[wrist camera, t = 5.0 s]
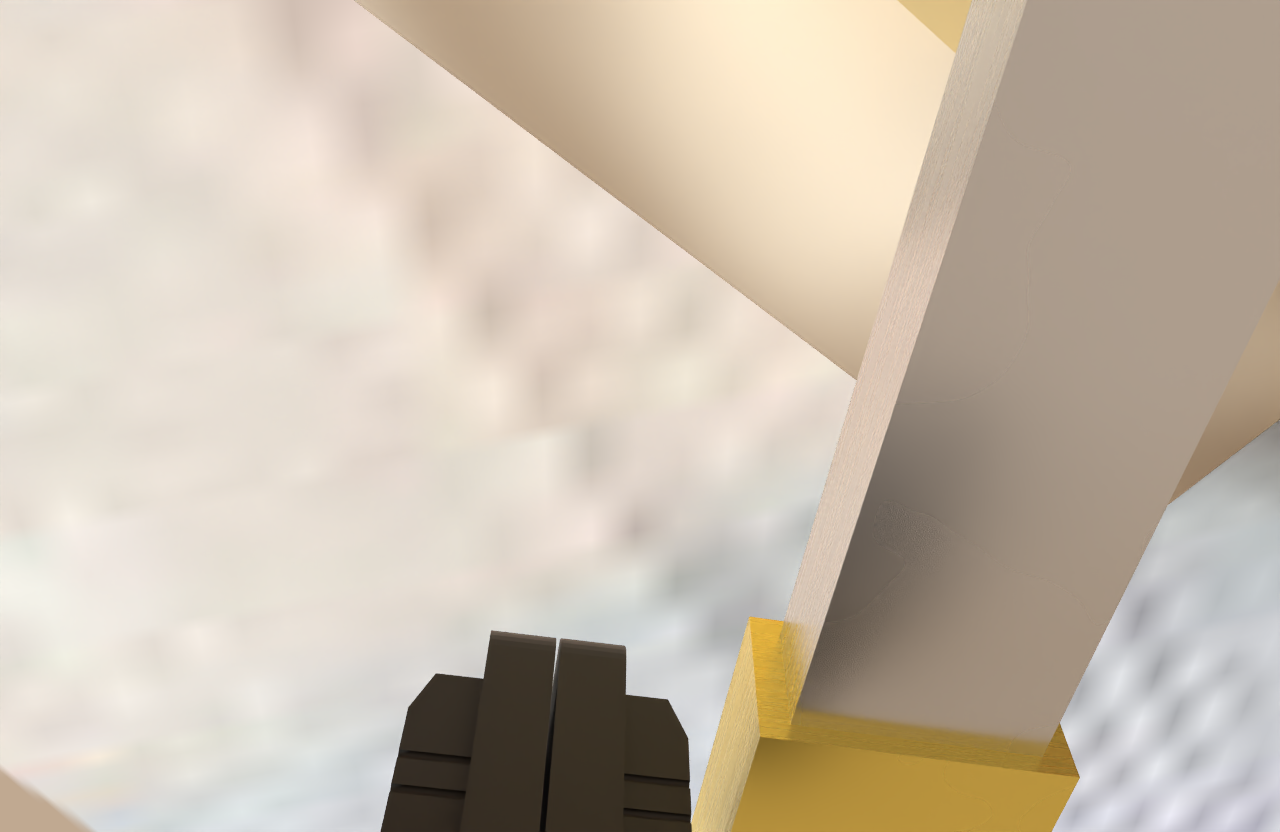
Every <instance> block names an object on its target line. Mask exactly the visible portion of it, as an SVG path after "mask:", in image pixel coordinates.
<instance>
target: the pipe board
mask: <svg viewBox="0 0 1280 832" xmlns="http://www.w3.org/2000/svg"><path fill="white" fill-rule="evenodd" d="M354 1H355V2H357V3H358V4H359V5H361V6H362V7H363V8H365V9H366V10H367V11H369V12H370V13H371V14H373V15H374V16H375V17H377V18H378V19H379V20H381V21H382V22H383V23H385V24H386V25H387V26H388V27H390V28H391V29H392V30H394V31H395V32H396V33H398V34H399V35H400V36H402V37H403V38H404V39H406V40H407V41H408V42H410V43H411V44H412V45H414V46H415V47H416V48H418V49H419V50H420V51H422V52H423V53H424V54H426V55H427V56H428V57H430V58H431V59H432V60H433V61H435V62H436V63H437V64H439V65H440V66H441V67H443V68H444V69H445V70H447V71H448V72H449V73H451V74H452V75H453V76H455V77H456V78H457V79H459V80H460V81H461V82H463V83H464V84H465V85H467V86H468V87H469V88H471V89H472V90H473V91H475V92H476V93H477V94H478V95H480V96H481V97H482V98H484V99H485V100H486V101H488V102H489V103H490V104H492V105H493V106H494V107H496V108H497V109H498V110H500V111H501V112H502V113H504V114H505V115H506V116H508V117H509V118H510V119H512V120H513V121H514V122H516V123H517V124H518V125H520V126H521V127H522V128H523V129H525V130H526V131H527V132H529V133H530V134H531V135H533V136H534V137H535V138H537V139H538V140H539V141H541V142H542V143H543V144H545V145H546V146H547V147H549V148H550V149H551V150H553V151H554V152H555V153H557V154H558V155H559V156H561V157H562V158H563V159H565V160H566V161H567V162H568V163H570V164H571V165H572V166H574V167H575V168H576V169H578V170H579V171H580V172H582V173H583V174H584V175H586V176H587V177H588V178H590V179H591V180H592V181H594V182H595V183H596V184H598V185H599V186H600V187H602V188H603V189H604V190H606V191H607V192H608V193H610V194H611V195H612V196H613V197H615V198H616V199H617V200H619V201H620V202H621V203H623V204H624V205H625V206H627V207H628V208H629V209H631V210H632V211H633V212H635V213H636V214H637V215H639V216H640V217H641V218H643V219H644V220H645V221H647V222H648V223H649V224H651V225H652V226H653V227H655V228H656V229H657V230H658V231H660V232H661V233H662V234H664V235H665V236H666V237H668V238H669V239H670V240H672V241H673V242H674V243H676V244H677V245H678V246H680V247H681V248H682V249H684V250H685V251H686V252H688V253H689V254H690V255H692V256H693V257H694V258H696V259H697V260H698V261H700V262H701V263H702V264H703V265H705V266H706V267H707V268H709V269H710V270H711V271H713V272H714V273H715V274H717V275H718V276H719V277H721V278H722V279H723V280H725V281H726V282H727V283H729V284H730V285H731V286H733V287H734V288H735V289H737V290H738V291H739V292H741V293H742V294H743V295H745V296H746V297H747V298H748V299H750V300H751V301H752V302H754V303H755V304H756V305H758V306H759V307H760V308H762V309H763V310H764V311H766V312H767V313H768V314H770V315H771V316H772V317H774V318H775V319H776V320H778V321H779V322H780V323H782V324H783V325H784V326H786V327H787V328H788V329H790V330H791V331H792V332H793V333H795V334H796V335H797V336H799V337H800V338H801V339H803V340H804V341H805V342H807V343H808V344H809V345H811V346H812V347H813V348H815V349H816V350H817V351H819V352H820V353H821V354H823V355H824V356H825V357H827V358H828V359H829V360H831V361H832V362H833V363H835V364H836V365H837V366H838V367H840V368H841V369H842V370H844V371H845V372H846V373H848V374H849V375H850V376H852V377H853V378H854V379H856V380H857V378H858V375H859V371H860V368H861V365H862V361H863V358H864V355H865V351H866V348H867V345H868V342H869V338H870V335H871V332H872V328H873V325H874V322H875V318H876V315H877V312H878V309H879V305H880V302H881V299H882V295H883V292H884V289H885V285H886V282H887V279H888V275H889V272H890V269H891V266H892V262H893V259H894V256H895V252H896V249H897V246H898V242H899V239H900V236H901V233H902V229H903V226H904V223H905V219H906V216H907V213H908V209H909V206H910V203H911V199H912V196H913V193H914V190H915V186H916V183H917V180H918V176H919V173H920V170H921V166H922V163H923V160H924V157H925V153H926V150H927V147H928V143H929V140H930V137H931V133H932V130H933V127H934V123H935V120H936V117H937V114H938V110H939V107H940V104H941V100H942V97H943V94H944V90H945V87H946V84H947V81H948V77H949V74H950V71H951V67H952V64H953V61H954V57H955V54H956V51H957V48H958V44H959V41H960V38H961V34H962V31H963V28H964V24H965V21H966V18H967V14H968V11H969V8H970V5H971V1H972V0H354ZM1279 419H1280V279H1279V281H1278V283H1277V285H1276V287H1275V289H1274V291H1273V293H1272V295H1271V297H1270V299H1269V301H1268V303H1267V305H1266V307H1265V309H1264V311H1263V314H1262V316H1261V318H1260V320H1259V322H1258V324H1257V326H1256V328H1255V330H1254V332H1253V334H1252V336H1251V338H1250V340H1249V342H1248V344H1247V346H1246V348H1245V350H1244V352H1243V354H1242V356H1241V358H1240V360H1239V362H1238V364H1237V366H1236V368H1235V370H1234V372H1233V374H1232V376H1231V378H1230V380H1229V382H1228V384H1227V386H1226V388H1225V390H1224V392H1223V394H1222V396H1221V398H1220V400H1219V402H1218V404H1217V406H1216V408H1215V410H1214V412H1213V414H1212V416H1211V418H1210V420H1209V422H1208V424H1207V426H1206V428H1205V430H1204V432H1203V434H1202V436H1201V439H1200V441H1199V443H1198V445H1197V447H1196V449H1195V451H1194V453H1193V455H1192V457H1191V459H1190V461H1189V463H1188V465H1187V467H1186V469H1185V471H1184V473H1183V475H1182V477H1181V479H1180V481H1179V483H1178V485H1177V487H1176V489H1175V491H1174V493H1173V495H1172V497H1171V499H1170V501H1169V503H1168V504H1170V503H1171V502H1172V501H1174V500H1175V499H1176V498H1178V497H1179V496H1180V495H1181V494H1183V493H1184V492H1185V491H1187V490H1188V489H1189V488H1191V487H1192V486H1193V485H1195V484H1196V483H1197V482H1198V481H1200V480H1201V479H1202V478H1204V477H1205V476H1206V475H1208V474H1209V473H1210V472H1211V471H1213V470H1214V469H1215V468H1217V467H1218V466H1219V465H1221V464H1222V463H1223V462H1225V461H1226V460H1227V459H1228V458H1230V457H1231V456H1232V455H1234V454H1235V453H1236V452H1238V451H1239V450H1240V449H1242V448H1243V447H1244V446H1245V445H1247V444H1248V443H1249V442H1251V441H1252V440H1253V439H1255V438H1256V437H1257V436H1258V435H1260V434H1261V433H1262V432H1264V431H1265V430H1266V429H1268V428H1269V427H1270V426H1272V425H1273V424H1274V423H1275V422H1277V421H1278V420H1279Z"/></svg>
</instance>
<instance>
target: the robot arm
mask: <svg viewBox="0 0 1280 832" xmlns="http://www.w3.org/2000/svg"><path fill="white" fill-rule="evenodd" d="M555 650H556V638H551V637H542V636H534V635H525V634H517V633H508V632H500V631H491V635H490V641H489V647H488V654H487V660H486V667H485V673H484V679H480V678H471V677H462V676H454V675H445V674H435V675H434V677H433V678H432V679H431V680H430V681H429V683H428V684H427V685H426V686H425V688H424V689H423V690H422V691H421V693H420V694H419V695H418V696H417V698H416V699H415V700H414V701H413V702H412V704H411V705H410V706H409V707H408V711H407V716H406V720H405V725H404V729H403V734H402V738H401V743H400V747H399V754H398V757H397V761H396V765H395V770H394V774H393V779H392V783H391V790H390V792H389V797H388V801H387V806H386V810H385V815H384V819H383V823H382V828H381V832H692V824H691V823H690V820H691V796H690V789H689V782H690V771H689V745H688V737H687V735H686V733H685V731H684V729H683V728H682V726H681V724H680V722H679V720H678V718H677V716H676V714H675V712H674V710H673V708H672V706H671V705H670V703H669V701H668V700H667V699H658V698H649V697H641V696H632V695H626V647H625V646H622V645H613V644H605V643H596V642H587V641H579V640H570V639H562V638H561V639H560V643H559V649H558V655H557V661H556V667H555V673H554V662H555ZM553 673H554V679H553ZM552 684H553V686H552Z"/></svg>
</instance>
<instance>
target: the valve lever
mask: <svg viewBox="0 0 1280 832" xmlns="http://www.w3.org/2000/svg"><path fill="white" fill-rule="evenodd" d="M1279 279H1280V0H972V1H971V5H970V8H969V11H968V14H967V18H966V21H965V24H964V28H963V31H962V34H961V38H960V41H959V44H958V48H957V51H956V54H955V57H954V61H953V64H952V67H951V71H950V74H949V77H948V81H947V84H946V87H945V90H944V94H943V97H942V100H941V104H940V107H939V110H938V114H937V117H936V120H935V123H934V127H933V130H932V133H931V137H930V140H929V143H928V147H927V150H926V153H925V157H924V160H923V163H922V166H921V170H920V173H919V176H918V180H917V183H916V186H915V190H914V193H913V196H912V199H911V203H910V206H909V209H908V213H907V216H906V219H905V223H904V226H903V229H902V233H901V236H900V239H899V242H898V246H897V249H896V252H895V256H894V259H893V262H892V266H891V269H890V272H889V275H888V279H887V282H886V285H885V289H884V292H883V295H882V299H881V302H880V305H879V309H878V312H877V315H876V318H875V322H874V325H873V328H872V332H871V335H870V338H869V342H868V345H867V348H866V351H865V355H864V358H863V361H862V365H861V368H860V371H859V375H858V378H857V381H856V385H855V388H854V391H853V394H852V398H851V401H850V404H849V408H848V411H847V414H846V418H845V421H844V424H843V427H842V431H841V434H840V437H839V441H838V444H837V447H836V451H835V454H834V457H833V460H832V464H831V467H830V470H829V474H828V477H827V480H826V484H825V487H824V490H823V494H822V497H821V500H820V503H819V507H818V510H817V513H816V517H815V520H814V523H813V527H812V530H811V533H810V536H809V540H808V543H807V546H806V550H805V553H804V556H803V560H802V563H801V566H800V570H799V573H798V576H797V579H796V583H795V586H794V589H793V593H792V596H791V599H790V603H789V606H788V609H787V612H786V616H785V619H784V621H777V620H770V619H763V618H755V617H749V620H748V623H747V627H746V630H745V634H744V637H743V641H742V645H741V648H740V652H739V655H738V659H737V662H736V666H735V669H734V673H733V677H732V680H731V684H730V687H729V691H728V694H727V698H726V701H725V705H724V709H723V712H722V716H721V719H720V723H719V726H718V730H717V733H716V737H715V741H714V744H713V748H712V751H711V755H710V758H709V762H708V765H707V769H706V772H705V776H704V780H703V783H702V787H701V790H700V794H699V797H698V801H697V804H696V808H695V812H694V815H693V819H692V822H691V824H692V832H1052V830H1053V828H1054V826H1055V824H1056V822H1057V820H1058V818H1059V816H1060V814H1061V813H1062V811H1063V809H1064V807H1065V805H1066V803H1067V801H1068V799H1069V797H1070V795H1071V794H1072V792H1073V790H1074V788H1075V786H1076V784H1077V782H1078V780H1079V778H1080V777H1079V774H1078V771H1077V769H1076V766H1075V763H1074V760H1073V758H1072V755H1071V752H1070V750H1069V747H1068V744H1067V742H1066V739H1065V736H1064V733H1063V731H1062V728H1061V725H1060V721H1061V719H1062V717H1063V715H1064V713H1065V711H1066V709H1067V707H1068V705H1069V703H1070V701H1071V699H1072V697H1073V695H1074V693H1075V691H1076V689H1077V687H1078V685H1079V682H1080V680H1081V678H1082V676H1083V674H1084V672H1085V670H1086V668H1087V666H1088V664H1089V662H1090V660H1091V658H1092V656H1093V654H1094V652H1095V650H1096V648H1097V646H1098V644H1099V642H1100V640H1101V638H1102V636H1103V634H1104V632H1105V630H1106V628H1107V626H1108V624H1109V622H1110V620H1111V618H1112V616H1113V614H1114V612H1115V610H1116V608H1117V606H1118V604H1119V602H1120V600H1121V598H1122V596H1123V594H1124V592H1125V590H1126V588H1127V586H1128V584H1129V582H1130V580H1131V578H1132V576H1133V574H1134V572H1135V570H1136V568H1137V566H1138V564H1139V562H1140V559H1141V557H1142V555H1143V553H1144V551H1145V549H1146V547H1147V545H1148V543H1149V541H1150V539H1151V537H1152V535H1153V533H1154V531H1155V529H1156V527H1157V525H1158V523H1159V521H1160V519H1161V517H1162V515H1163V513H1164V511H1165V509H1166V507H1167V505H1168V503H1169V501H1170V499H1171V497H1172V495H1173V493H1174V491H1175V489H1176V487H1177V485H1178V483H1179V481H1180V479H1181V477H1182V475H1183V473H1184V471H1185V469H1186V467H1187V465H1188V463H1189V461H1190V459H1191V457H1192V455H1193V453H1194V451H1195V449H1196V447H1197V445H1198V443H1199V441H1200V439H1201V436H1202V434H1203V432H1204V430H1205V428H1206V426H1207V424H1208V422H1209V420H1210V418H1211V416H1212V414H1213V412H1214V410H1215V408H1216V406H1217V404H1218V402H1219V400H1220V398H1221V396H1222V394H1223V392H1224V390H1225V388H1226V386H1227V384H1228V382H1229V380H1230V378H1231V376H1232V374H1233V372H1234V370H1235V368H1236V366H1237V364H1238V362H1239V360H1240V358H1241V356H1242V354H1243V352H1244V350H1245V348H1246V346H1247V344H1248V342H1249V340H1250V338H1251V336H1252V334H1253V332H1254V330H1255V328H1256V326H1257V324H1258V322H1259V320H1260V318H1261V316H1262V314H1263V311H1264V309H1265V307H1266V305H1267V303H1268V301H1269V299H1270V297H1271V295H1272V293H1273V291H1274V289H1275V287H1276V285H1277V283H1278V281H1279Z"/></svg>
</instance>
